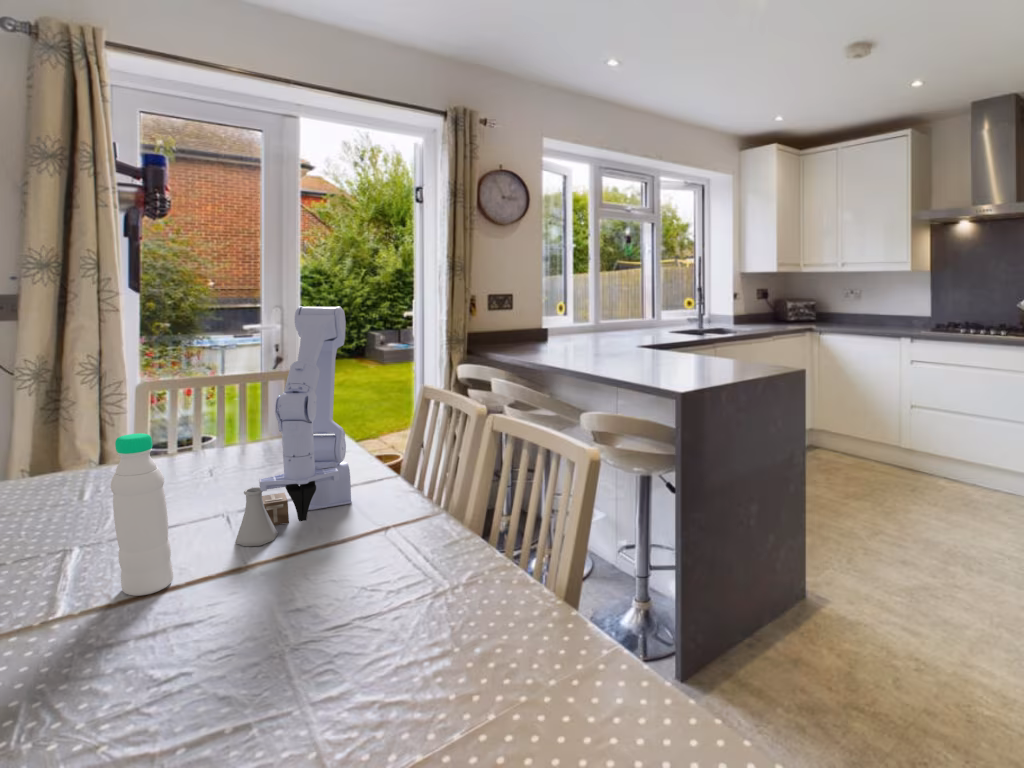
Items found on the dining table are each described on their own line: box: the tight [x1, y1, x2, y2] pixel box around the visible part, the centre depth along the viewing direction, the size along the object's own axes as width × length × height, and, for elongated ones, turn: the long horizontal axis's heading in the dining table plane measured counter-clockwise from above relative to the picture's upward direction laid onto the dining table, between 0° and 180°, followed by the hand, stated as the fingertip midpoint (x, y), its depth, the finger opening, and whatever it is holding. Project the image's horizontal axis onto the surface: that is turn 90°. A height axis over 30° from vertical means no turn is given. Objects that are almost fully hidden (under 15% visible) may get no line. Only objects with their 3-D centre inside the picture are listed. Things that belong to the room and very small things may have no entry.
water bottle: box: [110, 432, 174, 597], centre depth 90 cm, size 7×7×25 cm
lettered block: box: [262, 492, 290, 526], centre depth 118 cm, size 5×5×5 cm
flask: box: [234, 486, 279, 547], centre depth 109 cm, size 7×7×10 cm
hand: (302, 519), depth 113 cm, fingers closed
